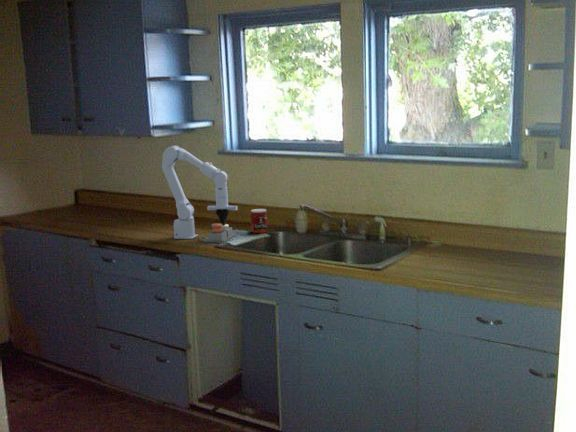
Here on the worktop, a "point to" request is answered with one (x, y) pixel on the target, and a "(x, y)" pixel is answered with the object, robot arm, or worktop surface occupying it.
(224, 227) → the cream plug
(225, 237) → the socket board
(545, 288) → the worktop surface
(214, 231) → the red plug
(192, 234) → the robot arm
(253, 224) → the canned food
